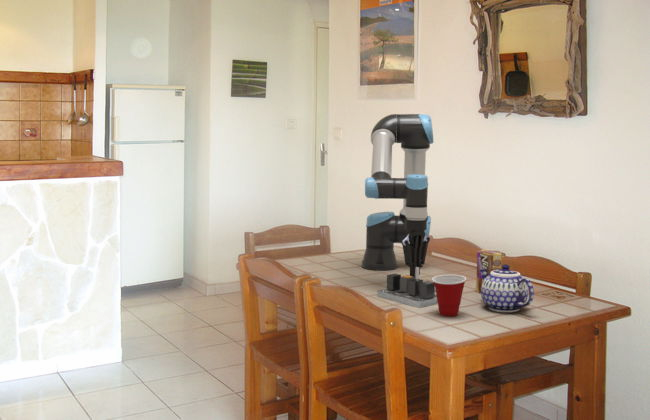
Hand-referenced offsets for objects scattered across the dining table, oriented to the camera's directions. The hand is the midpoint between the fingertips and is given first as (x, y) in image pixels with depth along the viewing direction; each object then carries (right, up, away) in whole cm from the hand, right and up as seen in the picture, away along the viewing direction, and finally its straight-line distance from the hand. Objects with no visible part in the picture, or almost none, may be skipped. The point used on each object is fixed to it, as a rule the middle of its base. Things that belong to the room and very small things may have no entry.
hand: (414, 285), depth 246 cm
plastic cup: (+8, -7, -24) cm, 26 cm away
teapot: (+27, -6, -16) cm, 32 cm away
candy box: (+27, -4, +4) cm, 28 cm away
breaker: (-3, -2, -2) cm, 4 cm away
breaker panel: (+1, -4, -2) cm, 5 cm away
